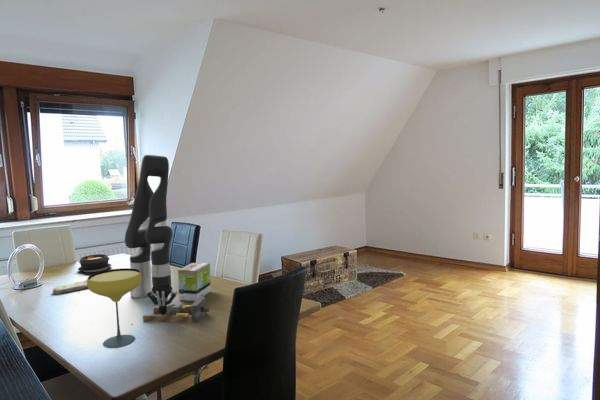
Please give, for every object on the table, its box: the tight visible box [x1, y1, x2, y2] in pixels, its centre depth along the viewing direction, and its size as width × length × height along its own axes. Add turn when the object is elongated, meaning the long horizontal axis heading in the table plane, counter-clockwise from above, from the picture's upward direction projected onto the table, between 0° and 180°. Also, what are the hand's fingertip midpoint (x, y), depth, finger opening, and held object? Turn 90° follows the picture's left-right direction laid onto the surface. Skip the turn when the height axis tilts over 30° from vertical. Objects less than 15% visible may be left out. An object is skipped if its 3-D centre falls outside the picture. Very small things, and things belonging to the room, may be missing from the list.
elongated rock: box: [52, 279, 89, 296], centre depth 226 cm, size 35×5×10 cm
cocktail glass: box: [86, 267, 142, 349], centre depth 153 cm, size 18×18×25 cm
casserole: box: [77, 253, 112, 273], centre depth 260 cm, size 25×19×8 cm
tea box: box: [177, 262, 212, 302], centre depth 204 cm, size 15×10×15 cm
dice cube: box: [166, 302, 183, 315], centre depth 178 cm, size 5×5×5 cm
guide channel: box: [142, 296, 210, 324], centre depth 177 cm, size 26×11×7 cm, turn 84°
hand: (163, 314), depth 177 cm, fingers closed
